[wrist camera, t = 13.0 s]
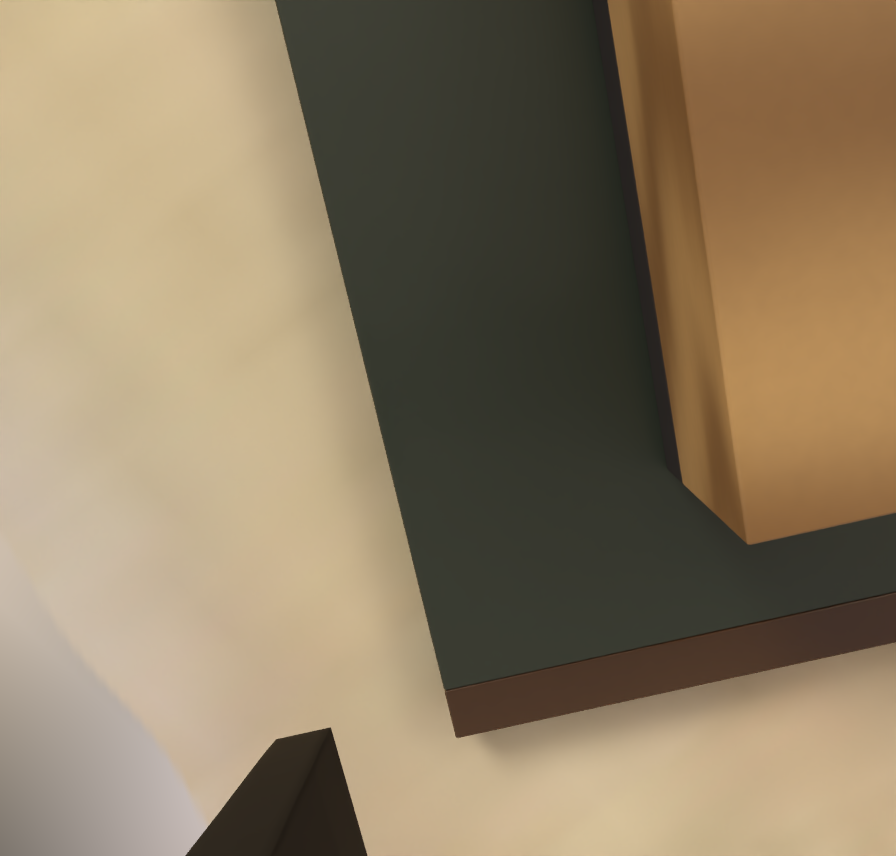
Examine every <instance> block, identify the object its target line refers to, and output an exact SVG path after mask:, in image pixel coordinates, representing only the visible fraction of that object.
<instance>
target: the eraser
mask: <svg viewBox="0 0 896 856" xmlns="http://www.w3.org/2000/svg"><path fill="white" fill-rule="evenodd" d="M592 2H593V8H594V14H595V21H596V27H597V33H598V39H599V46H600V52H601V58H602V64H603V71H604V77H605V83H606V89H607V96H608V102H609V108H610V114H611V121H612V127H613V133H614V139H615V146H616V152H617V158H618V164H619V171H620V177H621V183H622V189H623V196H624V202H625V208H626V214H627V221H628V227H629V233H630V239H631V246H632V252H633V258H634V264H635V271H636V277H637V283H638V289H639V296H640V302H641V308H642V314H643V321H644V327H645V333H646V339H647V346H648V352H649V358H650V364H651V371H652V377H653V383H654V389H655V396H656V402H657V408H658V414H659V421H660V427H661V433H662V439H663V446H664V452H665V458H666V464H667V469H668V470H669V471H670V472H671V473H672V474H673V475H674V476H675V477H676V478H677V479H679V480H680V481H681V482H682V483H683V484H684V485H685V486H686V487H687V488H688V489H689V490H690V491H691V492H692V493H693V494H694V495H695V496H696V497H697V498H699V499H700V500H701V501H702V502H703V503H704V504H705V505H706V506H707V507H708V508H709V509H710V510H711V511H712V512H713V513H715V514H716V515H717V516H718V517H719V518H720V519H721V520H722V521H723V522H724V523H725V524H726V525H727V526H728V527H729V528H731V529H732V530H733V531H734V532H735V533H736V534H737V535H738V536H739V537H740V538H741V539H742V540H743V541H744V542H745V543H747V544H749V545H752V544H757V543H761V542H766V541H770V540H775V539H779V538H784V537H788V536H793V535H798V534H802V533H807V532H811V531H816V530H820V529H825V528H829V527H834V526H838V525H843V524H848V523H852V522H857V521H861V520H866V519H870V518H875V517H879V516H884V515H889V514H893V513H896V0H592Z"/></svg>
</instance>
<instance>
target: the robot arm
mask: <svg viewBox="0 0 896 856" xmlns="http://www.w3.org/2000/svg"><path fill="white" fill-rule="evenodd" d="M186 856H367V853H366V849H365V846H364V842H363V839H362V835H361V832H360V828H359V825H358V821H357V818H356V814H355V811H354V807H353V804H352V800H351V797H350V793H349V790H348V786H347V783H346V779H345V776H344V772H343V769H342V765H341V762H340V758H339V755H338V751H337V748H336V744H335V741H334V737H333V734H332V730H331V728H326V729H322V730H317V731H312V732H308V733H303V734H299V735H294V736H290V737H285V738H280V739H276V740H275V741H274V743H273V744H272V745H271V746H270V747H269V749H268V750H267V751H266V752H265V753H264V755H263V756H262V757H261V758H260V760H259V761H258V762H257V764H256V765H255V766H254V767H253V769H252V770H251V771H250V773H249V774H248V775H247V777H246V778H245V779H244V781H243V782H242V783H241V785H240V786H239V787H238V789H237V790H236V791H235V792H234V794H233V795H232V796H231V798H230V799H229V800H228V802H227V803H226V804H225V806H224V807H223V808H222V810H221V811H220V812H219V813H218V815H217V816H216V817H215V819H214V820H213V821H212V822H211V824H210V825H209V826H208V828H207V829H206V830H205V831H204V833H203V834H202V835H201V836H200V838H199V839H198V840H197V842H196V843H195V844H194V845H193V847H192V848H191V850H190V851H189V852H188V853H187V855H186Z"/></svg>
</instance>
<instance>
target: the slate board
mask: <svg viewBox="0 0 896 856" xmlns="http://www.w3.org/2000/svg"><path fill="white" fill-rule="evenodd" d="M275 2H276V6H277V10H278V14H279V18H280V22H281V26H282V30H283V34H284V39H285V43H286V47H287V51H288V55H289V59H290V63H291V67H292V71H293V75H294V79H295V83H296V87H297V91H298V96H299V100H300V104H301V108H302V112H303V116H304V120H305V124H306V128H307V132H308V136H309V140H310V144H311V149H312V153H313V157H314V161H315V165H316V169H317V173H318V177H319V181H320V185H321V189H322V193H323V197H324V202H325V206H326V210H327V214H328V218H329V222H330V226H331V230H332V234H333V238H334V242H335V246H336V250H337V255H338V259H339V263H340V267H341V271H342V275H343V279H344V283H345V287H346V291H347V295H348V299H349V303H350V308H351V312H352V316H353V320H354V324H355V328H356V332H357V336H358V340H359V344H360V348H361V352H362V356H363V361H364V365H365V369H366V373H367V377H368V381H369V385H370V389H371V393H372V397H373V401H374V405H375V409H376V413H377V418H378V422H379V426H380V430H381V434H382V438H383V442H384V446H385V450H386V454H387V458H388V462H389V466H390V471H391V475H392V479H393V483H394V487H395V491H396V495H397V499H398V503H399V507H400V511H401V515H402V519H403V524H404V528H405V532H406V536H407V540H408V544H409V548H410V552H411V556H412V560H413V564H414V568H415V572H416V577H417V581H418V585H419V589H420V593H421V597H422V601H423V605H424V609H425V613H426V617H427V621H428V625H429V630H430V634H431V638H432V642H433V646H434V650H435V654H436V658H437V662H438V666H439V670H440V674H441V678H442V683H443V687H444V689H445V695H446V699H447V703H448V707H449V711H450V715H451V719H452V723H453V727H454V731H455V735H456V737H457V738H460V737H465V736H469V735H474V734H478V733H483V732H487V731H492V730H497V729H501V728H506V727H510V726H515V725H519V724H524V723H529V722H533V721H538V720H542V719H547V718H551V717H556V716H561V715H565V714H570V713H574V712H579V711H583V710H588V709H593V708H597V707H602V706H606V705H611V704H615V703H620V702H625V701H629V700H634V699H638V698H643V697H647V696H652V695H657V694H661V693H666V692H670V691H675V690H679V689H684V688H689V687H693V686H698V685H702V684H707V683H711V682H716V681H721V680H725V679H730V678H734V677H739V676H743V675H748V674H753V673H757V672H762V671H766V670H771V669H775V668H780V667H785V666H789V665H794V664H798V663H803V662H807V661H812V660H817V659H821V658H826V657H830V656H835V655H839V654H844V653H849V652H853V651H858V650H862V649H867V648H871V647H876V646H881V645H885V644H890V643H894V642H896V513H893V514H889V515H884V516H879V517H875V518H870V519H866V520H861V521H857V522H852V523H848V524H843V525H838V526H834V527H829V528H825V529H820V530H816V531H811V532H807V533H802V534H798V535H793V536H788V537H784V538H779V539H775V540H770V541H766V542H761V543H757V544H752V545H749V544H747V543H745V542H744V541H743V540H742V539H741V538H740V537H739V536H738V535H737V534H736V533H735V532H734V531H733V530H732V529H731V528H729V527H728V526H727V525H726V524H725V523H724V522H723V521H722V520H721V519H720V518H719V517H718V516H717V515H716V514H715V513H713V512H712V511H711V510H710V509H709V508H708V507H707V506H706V505H705V504H704V503H703V502H702V501H701V500H700V499H699V498H697V497H696V496H695V495H694V494H693V493H692V492H691V491H690V490H689V489H688V488H687V487H686V486H685V485H684V484H683V483H682V482H681V481H680V480H679V479H677V478H676V477H675V476H674V475H673V474H672V473H671V472H670V471H669V470H668V469H667V464H666V458H665V452H664V446H663V439H662V433H661V427H660V421H659V414H658V408H657V402H656V396H655V389H654V383H653V377H652V371H651V364H650V358H649V352H648V346H647V339H646V333H645V327H644V321H643V314H642V308H641V302H640V296H639V289H638V283H637V277H636V271H635V264H634V258H633V252H632V246H631V239H630V233H629V227H628V221H627V214H626V208H625V202H624V196H623V189H622V183H621V177H620V171H619V164H618V158H617V152H616V146H615V139H614V133H613V127H612V121H611V114H610V108H609V102H608V96H607V89H606V83H605V77H604V71H603V64H602V58H601V52H600V46H599V39H598V33H597V27H596V21H595V14H594V8H593V2H592V0H275Z"/></svg>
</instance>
